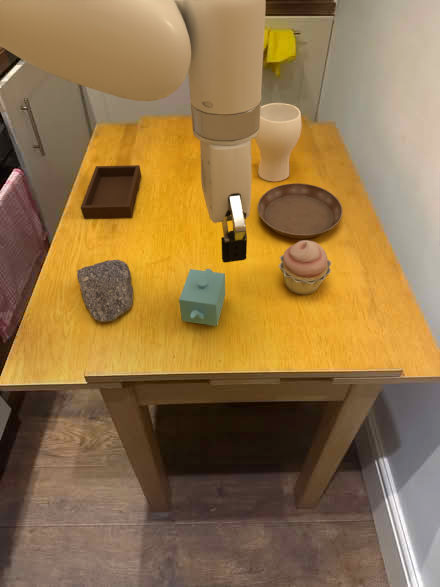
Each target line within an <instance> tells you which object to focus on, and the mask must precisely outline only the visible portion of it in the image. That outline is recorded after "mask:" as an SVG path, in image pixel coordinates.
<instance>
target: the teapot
mask: <svg viewBox="0 0 440 587" xmlns="http://www.w3.org/2000/svg"><path fill="white" fill-rule="evenodd" d="M225 297H226V273H224V272H217V271H213V270H212V269H210V268H206V269H205V270H201V269H193V268H190V269H189V272H188V274H187V276H186V279H185V282H184V285H183V288H182V290H181V292H180V295H179V298H178V302H179V303H178V304H179V310H180V316H181V321H182V322H186V323H194V324H198V325H199V324H200V325H205V326H212V327H213V326H214V327H218V325H219V320H220V317H221V313H222V309H223V306H224V302H225Z"/></svg>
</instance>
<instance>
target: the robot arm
mask: <svg viewBox="0 0 440 587" xmlns="http://www.w3.org/2000/svg"><path fill="white" fill-rule="evenodd" d="M266 5H267V3H266V0H0V48H3V49H4V50H6V51H8V52H9V53H11V54H12V55H14V56H16V57H17V58H19V59H21V60H22V61H25V62H26V63H27V64H29V65H31V66H33V67H35V68H37V69H39V70H41V71H43V72H45V73H47V74H50V75H52V76H55V77H57V78H59V79H62V80H64V81H67V82H70V83H73V84H76V85H79V86H82V87H86V88H89V89H92V90H95V91H98V92H101V93H104V94H107V95H111V96H114V97H117V98H122V99H126V100H130V101H137V102H154V101H159V100H161V99H164V98H167V97H168V96H170V95H172V94H174V93H175V92H176V91H177V90H178V89H179V88H180V87H181V86H182V84H183V83H184V81H185V80H186V78H187V76H188V85H189V98H190V99H189V100H190V111H191V112H190V114H191V126H192V134H193V136H194V138H196V139H197V140H199V148H200V149H199V150H200V152H199V153H200V182H201V189H202V193H203V197H204V198H203V199H204V201H205V205H206V209H207V213H208V218H209V219H210V221H211V222H212V223H214V224H218V223H221V227H222V234H223V236H222V237H221V240H220V241H221V260H222V262H223V263H225V264H226V263H233V262H240V261H241V262H242V261H245V260H246V259H247V251H248V250H247V248H248V247H247V246H248V233H247V225H246V220H247V219H248V218H249V216H250V213H251V207H252V206H251V205H252V159H253V157H252V140H253V139H254V140H255V137H256V136H257V135H258V133H259V127H260V108H261V107H262V87H263V86H262V85H263V67H264V66H263V64H264V49H265V48H264V46H265V45H264V44H265V26H266V8H267V6H266ZM228 222H232V230H230V231H229V225H228Z"/></svg>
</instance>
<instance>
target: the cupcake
mask: <svg viewBox="0 0 440 587" xmlns="http://www.w3.org/2000/svg"><path fill="white" fill-rule="evenodd" d="M279 260H280V263H279V264H278V268H279V269H280V271H281V272H282V276H283V280H284V284H285V286H286V288H287V289H288V290H289V291H290V292H292V293H295V294H296V295H301V296H305V295H311V294H313V293H314V292H316V291H317V290H319V287H320V286H321V285H322V283H323V281H325V279H326V277H327V276H328V275H330V273H331V272H332V269H331V268H330V267H331V265H332V261H331V260H329V259H328V255H327V253H326V251H325V249H324V248H323V247H322V246H321V245H320V244H319V243H317V242H316V241H313V240H309V239H302V240H299V241H298V242H296V243H295V244H291V245H290V246H288V247H287V248H286V249H285V251H284V253H283V255H280V256H279Z"/></svg>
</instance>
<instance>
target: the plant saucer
mask: <svg viewBox="0 0 440 587" xmlns="http://www.w3.org/2000/svg"><path fill="white" fill-rule="evenodd" d="M343 210H344V209H343V206H342V204H341V202H340V200H339V199H338V198H337V196H335V194H333V193H332V192H330V191H328V190H327V189H326V188H323V187H320V186H317V185H314V184H308V183H300V182H299V183H298V182H296V183H285V184H281V185H277V186H274V187H272V188H270V189H268V190H267V191H265V193H263V194H262V195H261V197H260V198H259V200H258V203H257V212H258V214H259V217H260V218H261V220H262V221H263V223H264V224H266V226H267V227H268V228H270V229H271V230H272V231H274V232H275V233H277V234H278V235H281V236H283V237H287V238H290V239H299V240H307V239H314V238H316V237H319V236H322V235H324V234H326V233H328V232H330V231H332V229H333V228H335V227H336V226H337V225H338V224H339V223H340V221H341V219H342V217H343Z"/></svg>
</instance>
